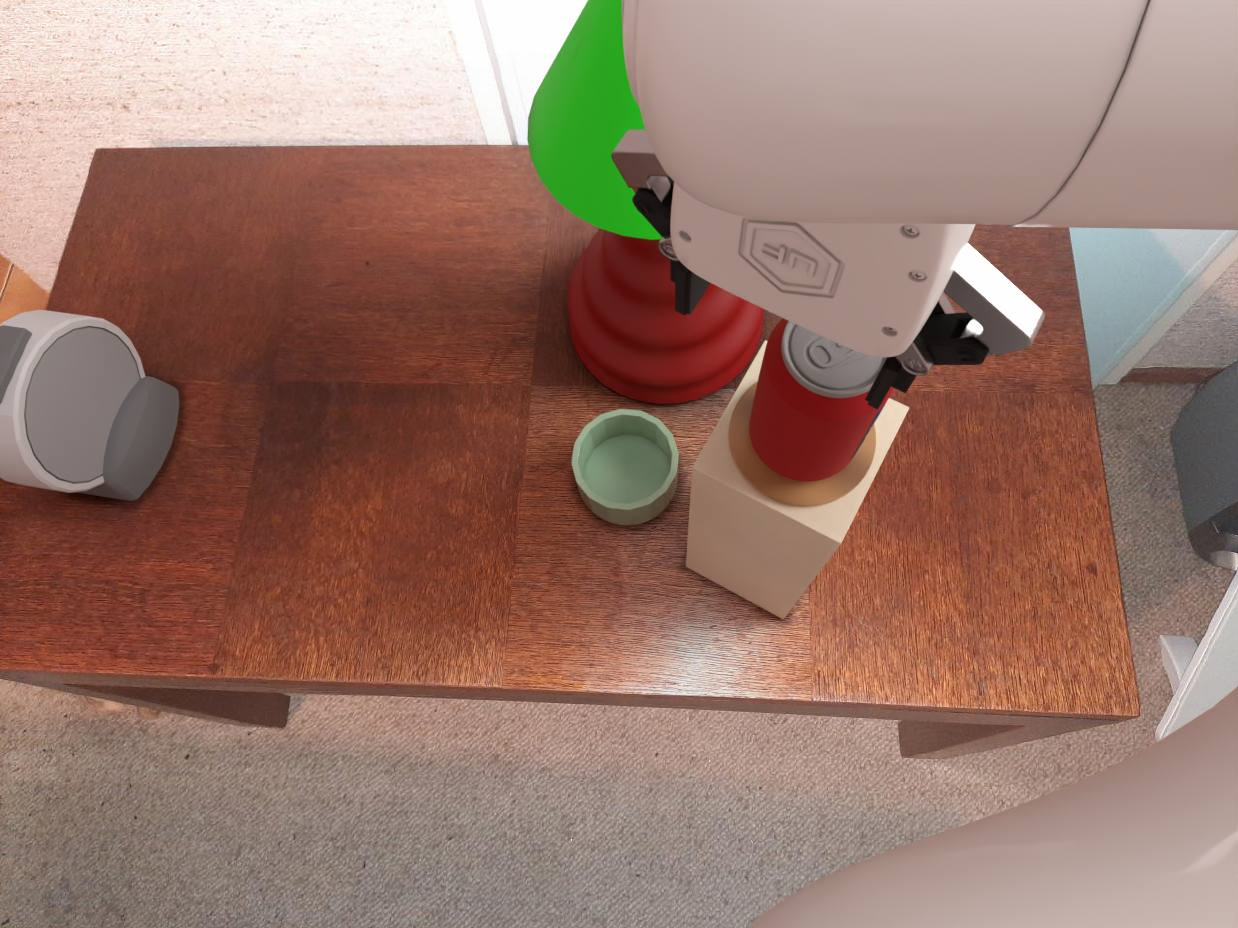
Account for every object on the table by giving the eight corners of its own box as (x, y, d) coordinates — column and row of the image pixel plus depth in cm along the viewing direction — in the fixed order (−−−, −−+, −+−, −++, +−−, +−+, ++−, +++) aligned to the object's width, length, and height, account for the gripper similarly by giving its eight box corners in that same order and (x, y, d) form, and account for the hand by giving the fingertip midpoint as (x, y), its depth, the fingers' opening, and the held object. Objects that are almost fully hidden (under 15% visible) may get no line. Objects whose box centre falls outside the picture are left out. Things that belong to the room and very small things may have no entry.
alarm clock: (108, 360, 90) (-25, 265, 73) (197, 373, 89) (84, 279, 72) (48, 506, 85) (-110, 440, 68) (143, 521, 84) (6, 458, 67)
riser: (783, 619, 77) (840, 543, 51) (685, 566, 79) (691, 467, 53) (831, 525, 80) (909, 407, 53) (735, 476, 82) (765, 339, 55)
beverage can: (880, 451, 52) (938, 364, 41) (787, 506, 51) (819, 433, 40) (816, 366, 54) (854, 261, 43) (726, 417, 53) (740, 324, 42)
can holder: (646, 543, 80) (645, 527, 75) (559, 496, 82) (552, 478, 77) (695, 458, 83) (697, 438, 77) (609, 415, 85) (605, 392, 80)
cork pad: (836, 532, 51) (837, 531, 51) (702, 464, 53) (703, 462, 52) (899, 410, 53) (900, 407, 53) (768, 349, 55) (769, 346, 55)
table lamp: (800, 349, 86) (925, -55, 43) (627, 440, 84) (581, 108, 41) (701, 206, 92) (725, -269, 50) (537, 287, 90) (417, -137, 48)
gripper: (532, 22, 24) (588, 317, 41) (1129, 274, 21) (929, 489, 37) (663, -144, 26) (666, 200, 43) (1230, 58, 23) (998, 352, 39)
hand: (788, 334), depth 40 cm, fingers open, 9 cm apart
